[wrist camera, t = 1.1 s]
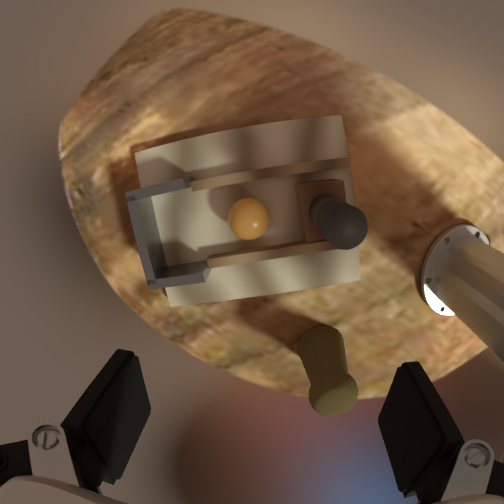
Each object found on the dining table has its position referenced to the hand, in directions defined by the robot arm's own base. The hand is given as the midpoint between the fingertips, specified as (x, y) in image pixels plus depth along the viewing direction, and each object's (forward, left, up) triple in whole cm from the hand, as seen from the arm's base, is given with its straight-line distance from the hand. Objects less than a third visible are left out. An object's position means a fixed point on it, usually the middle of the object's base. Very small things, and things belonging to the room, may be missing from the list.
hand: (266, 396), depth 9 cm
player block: (-6, -3, -22) cm, 23 cm away
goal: (+9, -3, -22) cm, 24 cm away
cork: (-5, +15, -24) cm, 29 cm away
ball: (+1, -3, -20) cm, 20 cm away
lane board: (+1, -3, -24) cm, 24 cm away
